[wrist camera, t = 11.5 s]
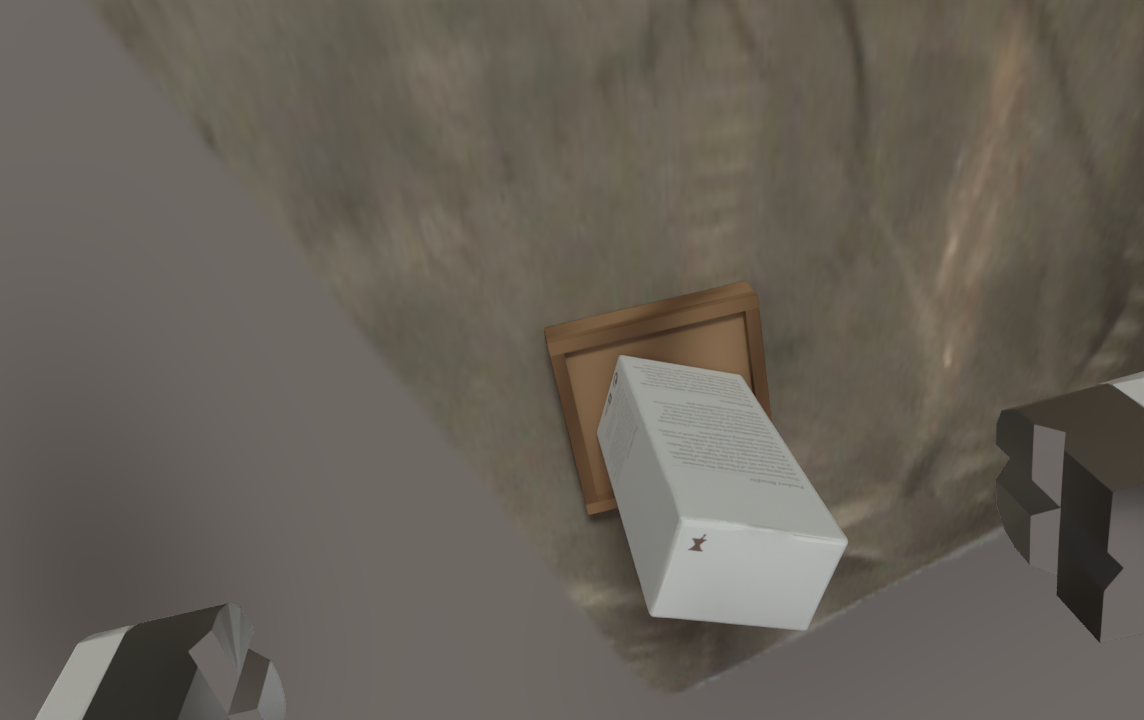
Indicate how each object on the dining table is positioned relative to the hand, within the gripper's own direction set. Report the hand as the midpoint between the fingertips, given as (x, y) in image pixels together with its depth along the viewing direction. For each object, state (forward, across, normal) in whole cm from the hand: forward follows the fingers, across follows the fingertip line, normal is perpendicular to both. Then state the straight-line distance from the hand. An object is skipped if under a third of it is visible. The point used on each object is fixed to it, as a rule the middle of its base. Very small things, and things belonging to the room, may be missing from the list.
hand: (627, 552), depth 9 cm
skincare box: (+26, -4, +14) cm, 30 cm away
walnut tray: (+27, -3, +14) cm, 31 cm away
